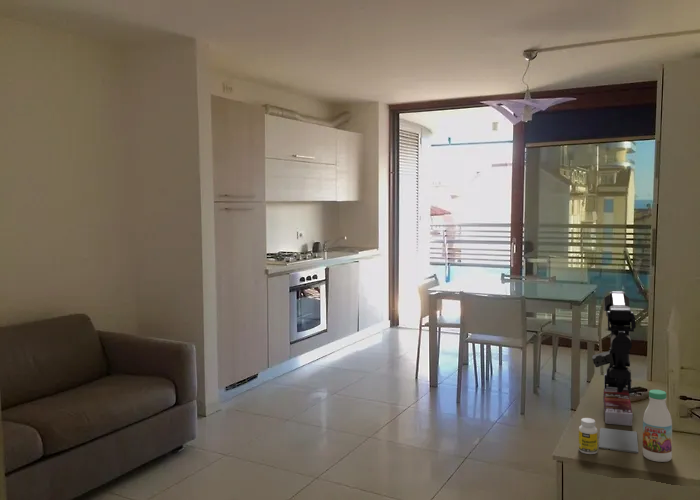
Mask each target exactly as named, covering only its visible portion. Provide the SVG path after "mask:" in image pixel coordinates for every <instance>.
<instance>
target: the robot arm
mask: <svg viewBox="0 0 700 500" xmlns="http://www.w3.org/2000/svg"><path fill="white" fill-rule="evenodd" d="M603 298H604V299H603V310H604V312H605V316H606V319H607V331H610V347H609V350H608V351H604V352H600V353H597V354H593V355H592V357H591V359H592V362H593V364H594V367H595V368H600V367H602V366H605V365H607V367H606V369H605V371H606V372H605V373H604V374H603V375H604V378H603V379H604V380H603V390H604V389H615V390H618V392H620V393H621V392H622V391H623V390H628V391H629V392H631V391H632V370H631V369H630V368H629V367H630V366H631V359H630V358H631V357H630V356H631V355H630V354H631V352H630V351H631V350H632V347H633V344H632V340H631V337H630V335H631V333H632V332H633V333H634V332H635V329H636V315H635V314H634V312H633V311H632V310H631V307H630V298H629V297H628V296H627V295H626V291H618V290H617V291H615V290H613V291H609V294H608V295H607V296H605V297H603Z"/></svg>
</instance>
